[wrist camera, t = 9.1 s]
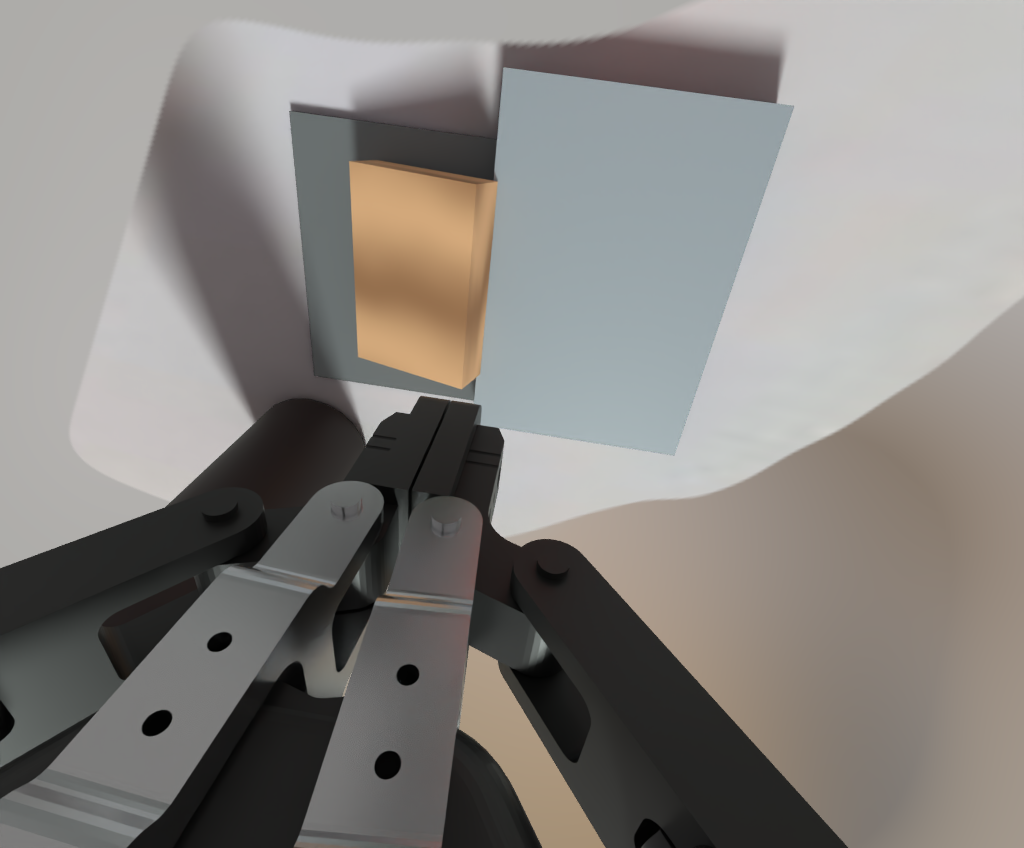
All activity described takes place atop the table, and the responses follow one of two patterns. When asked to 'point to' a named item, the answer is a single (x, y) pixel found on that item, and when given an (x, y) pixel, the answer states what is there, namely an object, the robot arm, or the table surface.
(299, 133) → the mat
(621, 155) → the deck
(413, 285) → the tile
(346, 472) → the bottle
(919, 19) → the table surface
